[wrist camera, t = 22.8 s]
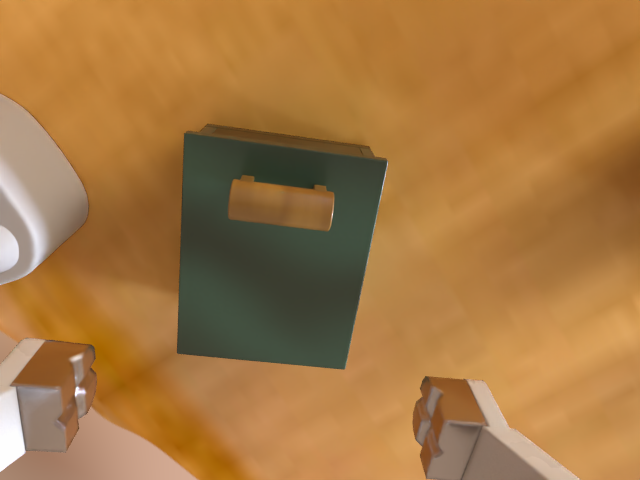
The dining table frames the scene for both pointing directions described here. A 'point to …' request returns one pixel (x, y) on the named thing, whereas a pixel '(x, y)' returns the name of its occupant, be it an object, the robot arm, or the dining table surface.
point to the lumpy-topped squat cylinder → (33, 194)
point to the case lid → (273, 249)
